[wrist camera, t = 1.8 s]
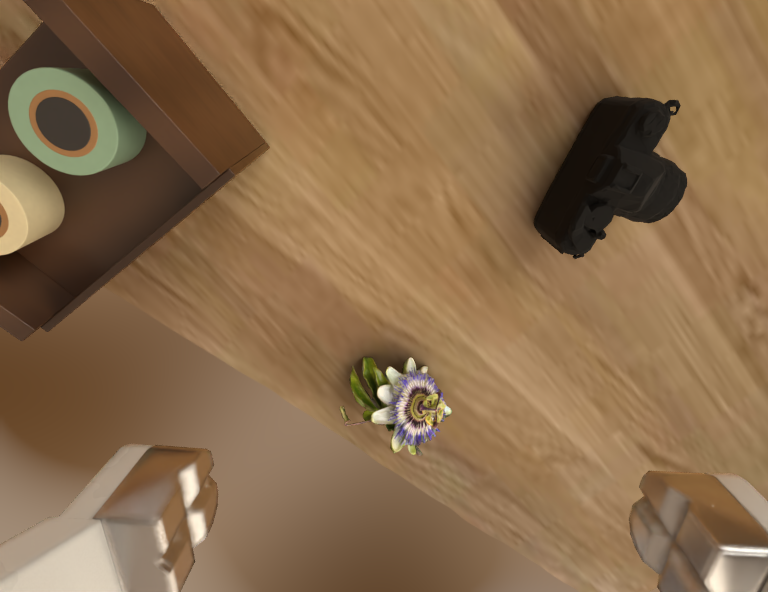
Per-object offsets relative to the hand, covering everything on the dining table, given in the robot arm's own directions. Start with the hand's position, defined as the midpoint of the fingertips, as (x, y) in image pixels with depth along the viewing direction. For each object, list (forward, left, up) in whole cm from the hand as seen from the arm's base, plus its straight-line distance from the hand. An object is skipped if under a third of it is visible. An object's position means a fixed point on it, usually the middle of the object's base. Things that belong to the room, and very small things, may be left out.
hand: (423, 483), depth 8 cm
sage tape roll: (-14, -12, -27) cm, 33 cm away
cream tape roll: (-14, -21, -27) cm, 37 cm away
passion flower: (+25, -14, -37) cm, 46 cm away
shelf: (-13, -17, -37) cm, 42 cm away
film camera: (+16, +18, -37) cm, 44 cm away
